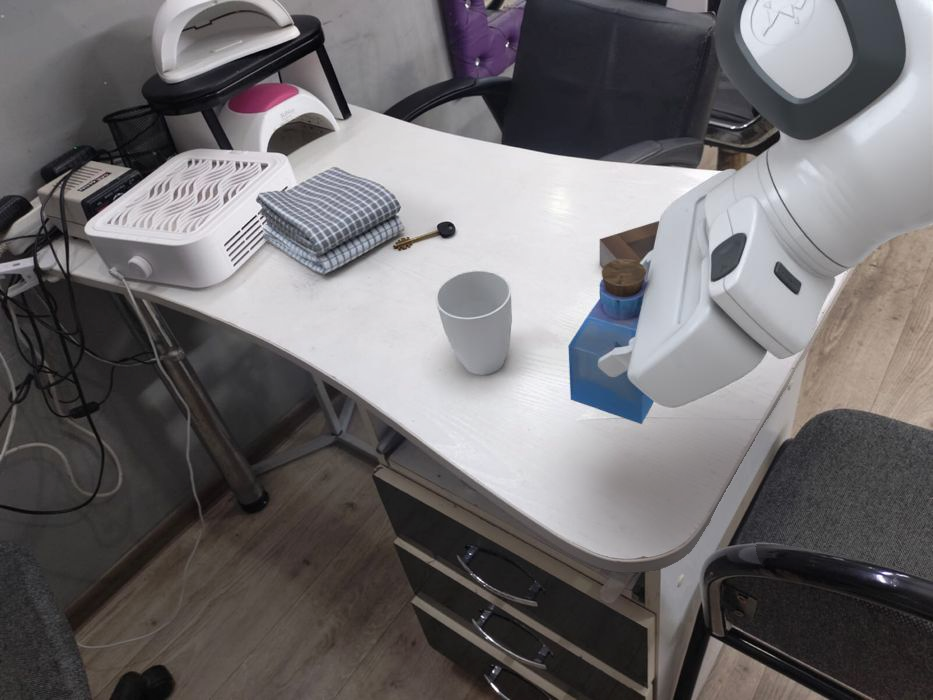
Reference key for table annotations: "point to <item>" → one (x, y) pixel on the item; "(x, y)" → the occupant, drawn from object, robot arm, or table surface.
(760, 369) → the table surface
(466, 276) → the cup
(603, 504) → the table surface
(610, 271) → the perfume bottle
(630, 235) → the stand
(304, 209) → the towel
